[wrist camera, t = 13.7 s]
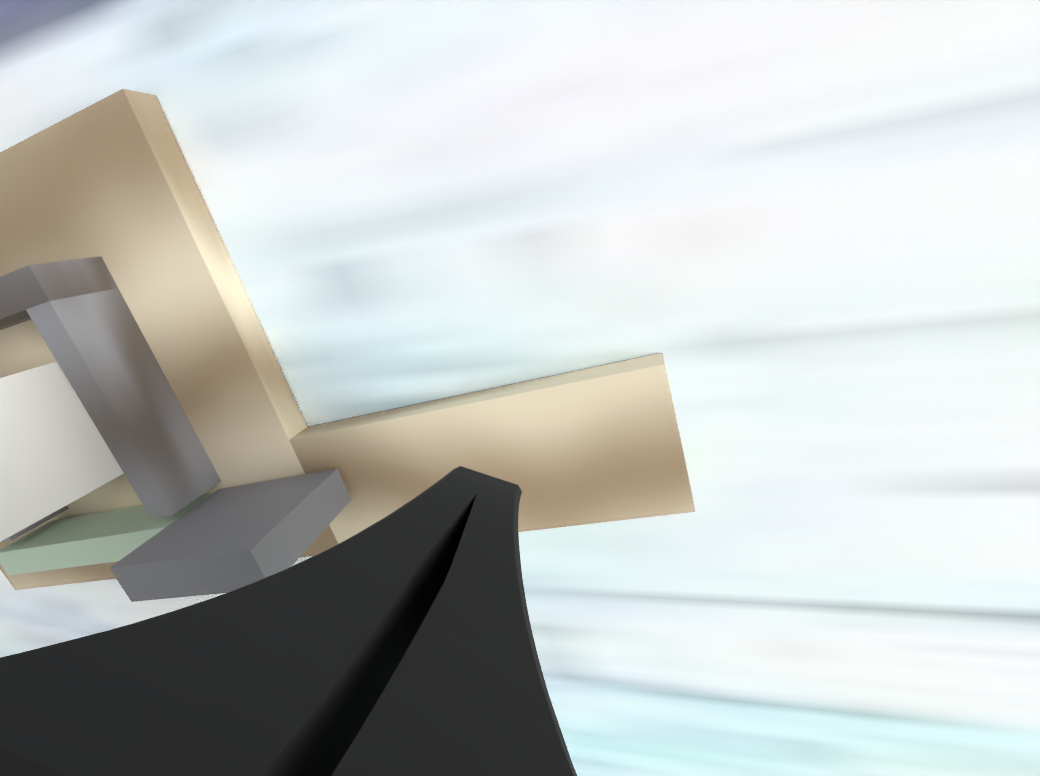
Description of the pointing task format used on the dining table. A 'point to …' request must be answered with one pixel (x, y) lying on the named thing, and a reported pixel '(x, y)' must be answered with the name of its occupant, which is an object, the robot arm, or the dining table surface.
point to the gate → (191, 538)
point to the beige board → (267, 362)
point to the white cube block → (46, 448)
